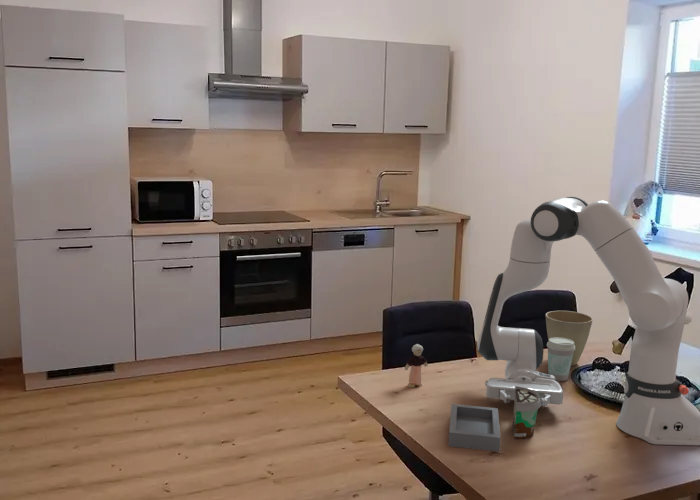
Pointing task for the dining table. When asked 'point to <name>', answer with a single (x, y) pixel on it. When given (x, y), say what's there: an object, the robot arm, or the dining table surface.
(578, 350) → the plant pot
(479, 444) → the tray
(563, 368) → the coffee cup
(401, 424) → the dining table surface
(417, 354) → the grandmother figurine
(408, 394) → the dining table surface
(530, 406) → the food container
